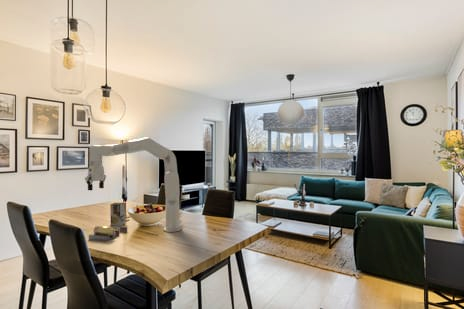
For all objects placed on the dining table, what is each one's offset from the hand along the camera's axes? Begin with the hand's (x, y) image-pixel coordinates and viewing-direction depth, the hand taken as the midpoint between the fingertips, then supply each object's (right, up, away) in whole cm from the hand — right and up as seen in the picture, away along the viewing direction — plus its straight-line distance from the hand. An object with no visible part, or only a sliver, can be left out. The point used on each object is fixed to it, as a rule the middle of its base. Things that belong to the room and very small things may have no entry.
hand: (95, 189), depth 172 cm
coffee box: (+4, -30, +24) cm, 39 cm away
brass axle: (+9, -28, -7) cm, 30 cm away
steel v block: (+8, -31, -7) cm, 32 cm away
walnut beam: (+15, -31, +3) cm, 34 cm away
